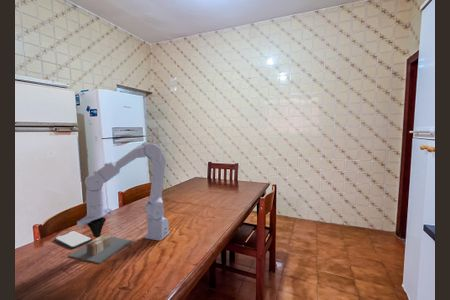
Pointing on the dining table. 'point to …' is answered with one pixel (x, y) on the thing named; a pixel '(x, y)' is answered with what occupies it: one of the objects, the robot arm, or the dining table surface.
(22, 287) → the dining table surface
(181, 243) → the dining table surface
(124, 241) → the rubber mat
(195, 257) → the dining table surface
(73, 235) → the phone case
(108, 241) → the maple block
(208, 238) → the dining table surface
